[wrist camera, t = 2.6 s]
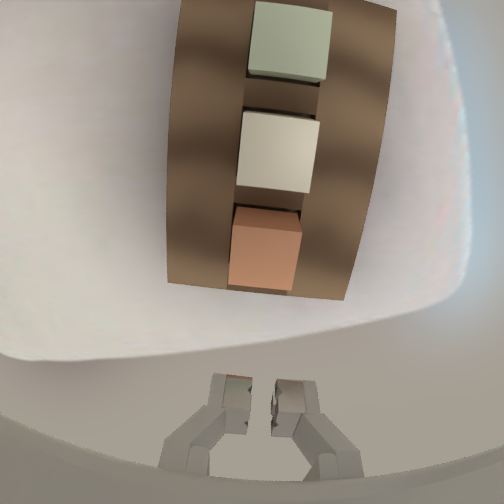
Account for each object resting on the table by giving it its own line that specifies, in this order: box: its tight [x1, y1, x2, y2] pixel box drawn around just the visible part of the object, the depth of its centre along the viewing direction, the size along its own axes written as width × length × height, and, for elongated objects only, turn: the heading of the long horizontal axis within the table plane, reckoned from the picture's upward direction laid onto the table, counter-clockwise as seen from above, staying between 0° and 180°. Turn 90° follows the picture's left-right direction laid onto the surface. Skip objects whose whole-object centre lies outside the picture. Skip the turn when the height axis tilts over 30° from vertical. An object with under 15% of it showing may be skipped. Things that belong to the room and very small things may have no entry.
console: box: [166, 0, 397, 300], centre depth 22 cm, size 24×15×3 cm, turn 174°
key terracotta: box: [228, 207, 302, 291], centre depth 23 cm, size 4×4×4 cm
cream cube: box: [236, 111, 320, 193], centre depth 20 cm, size 4×4×4 cm
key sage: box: [248, 1, 333, 83], centre depth 16 cm, size 4×4×4 cm
